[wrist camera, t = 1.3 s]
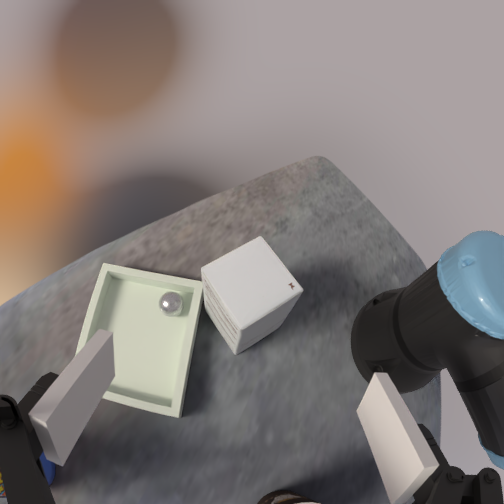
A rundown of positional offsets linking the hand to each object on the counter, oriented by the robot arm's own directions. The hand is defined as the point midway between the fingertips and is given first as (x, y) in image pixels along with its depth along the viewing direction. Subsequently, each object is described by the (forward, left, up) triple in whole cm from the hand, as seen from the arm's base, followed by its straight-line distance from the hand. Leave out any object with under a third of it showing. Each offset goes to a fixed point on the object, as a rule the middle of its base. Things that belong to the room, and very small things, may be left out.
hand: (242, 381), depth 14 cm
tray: (+12, -5, -24) cm, 27 cm away
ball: (+9, -10, -23) cm, 27 cm away
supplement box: (0, -11, -24) cm, 26 cm away
